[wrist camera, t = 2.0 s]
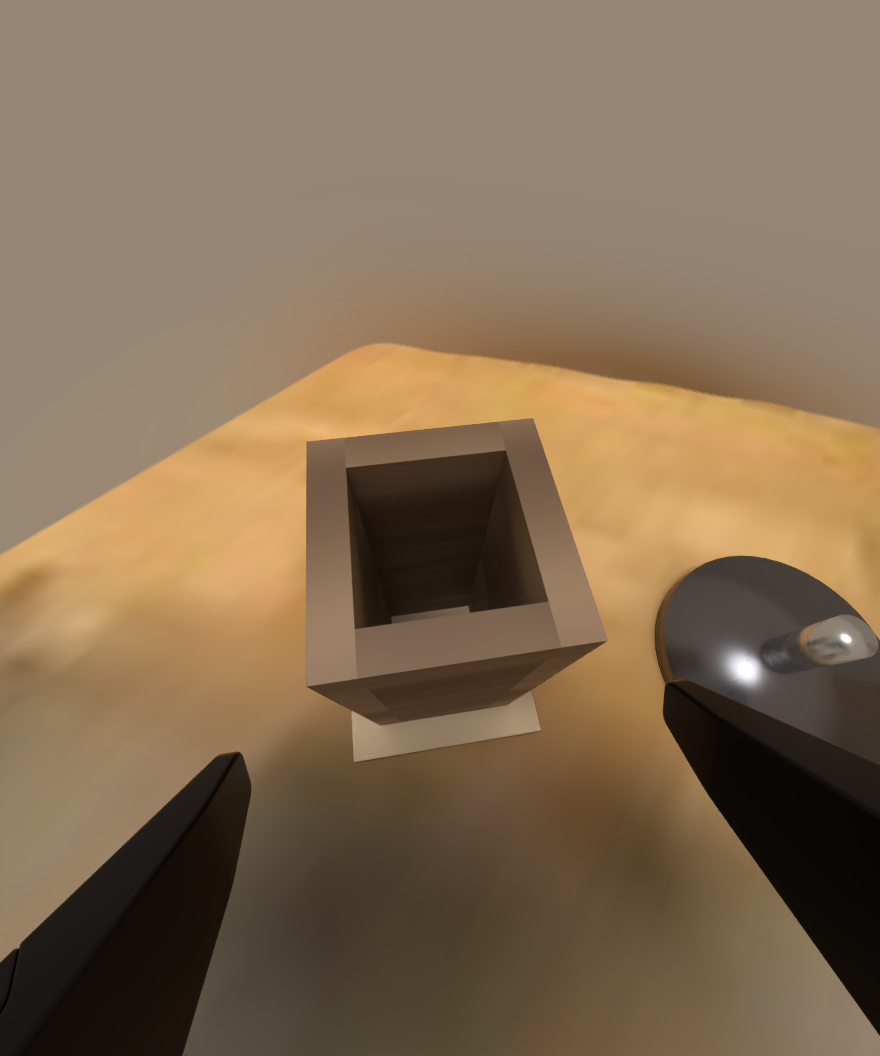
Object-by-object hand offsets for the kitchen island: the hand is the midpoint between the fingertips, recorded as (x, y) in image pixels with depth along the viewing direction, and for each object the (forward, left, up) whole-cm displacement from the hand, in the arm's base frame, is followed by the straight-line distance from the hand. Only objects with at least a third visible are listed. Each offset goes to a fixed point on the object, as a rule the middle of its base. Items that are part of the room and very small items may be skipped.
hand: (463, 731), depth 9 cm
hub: (-7, -14, -11) cm, 19 cm away
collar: (+3, -2, -10) cm, 11 cm away
